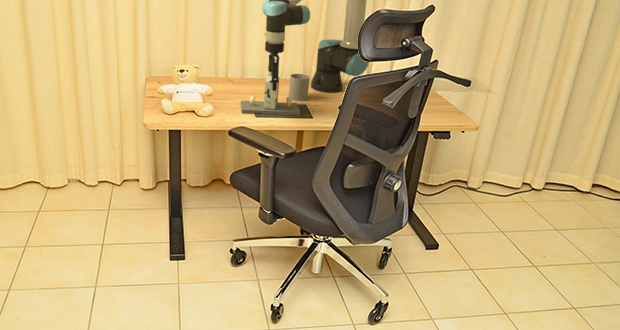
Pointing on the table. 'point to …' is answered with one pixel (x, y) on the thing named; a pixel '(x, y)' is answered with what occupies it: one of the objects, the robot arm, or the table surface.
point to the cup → (299, 87)
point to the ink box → (268, 101)
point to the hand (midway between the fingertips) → (272, 92)
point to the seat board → (280, 109)
